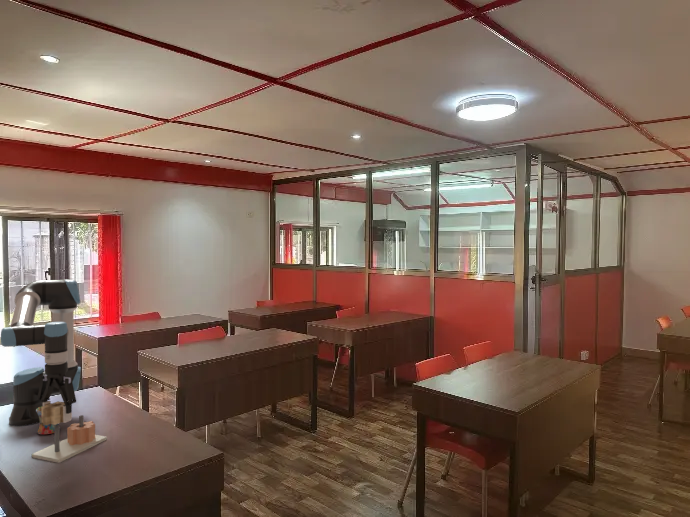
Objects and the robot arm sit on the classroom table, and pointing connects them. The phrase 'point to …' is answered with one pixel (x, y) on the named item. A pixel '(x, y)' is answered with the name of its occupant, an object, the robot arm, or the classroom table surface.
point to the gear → (52, 413)
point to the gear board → (71, 442)
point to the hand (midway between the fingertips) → (56, 419)
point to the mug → (44, 428)
